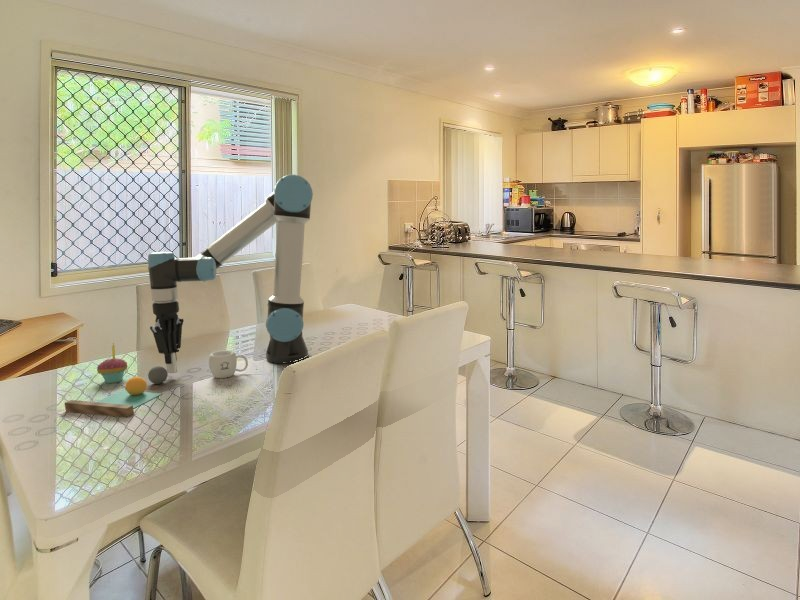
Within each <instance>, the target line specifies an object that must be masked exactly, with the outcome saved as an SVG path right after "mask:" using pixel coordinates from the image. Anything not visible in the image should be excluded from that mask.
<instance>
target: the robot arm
mask: <svg viewBox="0 0 800 600" xmlns="http://www.w3.org/2000/svg"><path fill="white" fill-rule="evenodd" d="M313 193H314V192H313V188H312V187H311V184H310V182H309V181H308V180H306V179H305V177H303V176H301V175H297V174H286V175H283V176H282V177H280V178H279V179H278V180H277V181H276V183H275V185H274V188H273V192H271V194H269V195H268V196H267V197H265V199H264V203H263V204H261V205H260V206H259V207H258V208H257V209H255V210H254V211H252V212H251V213H250V214H249V215H247V216H246V217H245V218H243V219H242V220H241V221H239V222H238V223H237V224H235V226H233V227H232V228H231V229H229V230H228V231H227V232H226V233H224V234H223V235H222V236H220V237H219V238H218V239H217V240H216V241H214V242H212V244H210V245H208V246H207V248H205V249H204V250H202V251H201V252H200V253H198V254H197V255H196V256H193V257H175V253H173V252H172V251H158V252H151V253H149V254H148V256H147V259H148V260H147V263H148V268H147V269H148V274H149V275H148V276H149V284H150V294H151V301H152V303H151V306H152V314H154V315H155V320H154V322H155V323H154V325H151V326H150V327H149V329H150V331H151V332H152V334H153V338H154V340H155V344H156V347H157V352H158V354H162V355H164V363H165V365H166V366H165V367H166V370H167V373H168V374H175V373H178V365H177V362H178V361H177V360H178V357H177V353H179V352H180V349H181V347H182V346H181V345H182V334H183V333H182V332H183V324H184V318H180V317H179V316H178V313H179V312H180V306H179V305H180V304H179V301H178V299H179V293H178V285H177V283H179V282H180V283H182V282H208V281H214V280H215V279H216V277H217V270H218V269H219V268H220V267H221V266H223V265H224V264H225V263H227V262H228V261H229V260H230V259H232V258H234V256H236V255H237V254H238V253H239V252H240V251H242V250H243V249H245V248H246V247H248V245H250V244H251V243H252V242H254V241H255V240H256V239H257V238H259V237H260V236H261V235H263V234H264V233H265V232H266V231H267V230H269V229H270V228H271V227H272V226H274V225H275V224H276V223H277V228H276V229H277V231H276V247H275V261H274V262H275V264H274V265H275V266H274V279H273V280H274V281H273V294H272V295H271V296H269V298H268V299H267V305H266V306H267V317H266V321H265V328H266V331H267V332H268V335H269V341H268V345H267V348H266V352H265V360H266V359H267V360H268V361H267V360H266V361H267V362H269V361H270V362H269V363H272V362H274V363H273V364H284V363H283V362H290V361H291V362H293V361H295V360H298V361H299V359H301V358H303V359H304V360H306V359H307V358H306V357H305V356H307V355H308V356H309V350H308V347H307V345H306V341H305V339H304V337H303V329H304V319H303V318H304V305H305V300H304V299H303V298H302V297H301V282H302V270H303V269H302V268H303V254H304V238H305V226H306V224H307V223H308V222H309V221H310V220H311V209H312V206H311V205H312V201H313ZM304 357H305V358H306V359H305V358H304ZM303 359H301V360H302V361H304V360H303ZM299 362H300V361H299ZM295 363H297V361H296V362H295Z"/></svg>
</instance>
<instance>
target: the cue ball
mask: <svg viewBox="0 0 800 600" xmlns="http://www.w3.org/2000/svg"><path fill="white" fill-rule="evenodd" d="M168 374H169V373H167V368H165V367H163V366H160V365H158V366H154V367H152V368H151V369H150V370H148V373H147V378H148V380H149V382H151V383H152V384H155V385H159V384H162V383H164V382H166V380H167V378H168V376H169V375H168Z"/></svg>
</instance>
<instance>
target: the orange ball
mask: <svg viewBox="0 0 800 600" xmlns="http://www.w3.org/2000/svg"><path fill="white" fill-rule="evenodd" d="M147 386H148V384H147V381H146V379H144V378H143V377H142V376H132V377H131V378H128V380H127V381H126V383H125V390H126V391H127V392H128V393H129V394H130V395H134V396H136V395H140V394H142V393H143V392H146V390H147Z"/></svg>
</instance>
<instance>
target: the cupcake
mask: <svg viewBox="0 0 800 600" xmlns="http://www.w3.org/2000/svg"><path fill="white" fill-rule="evenodd" d="M115 348H116V347H115V344H114V342H113V343H112V345H111V350H112V354H111V355H112V356H111V357H112V358H110V359H106V360H103V361H102V362H100V363H99V364H98V365H97V367H96V371H97V374H100V375H101V377H102V378H103V379H104V381H105V383H108V384H113V383H117V382H118V383H119V382H121V381H123V378H124V374H125V372H126V370H128V362H127V361H125V360H124V359H121V358H118V357H117V358H116V350H115Z"/></svg>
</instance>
